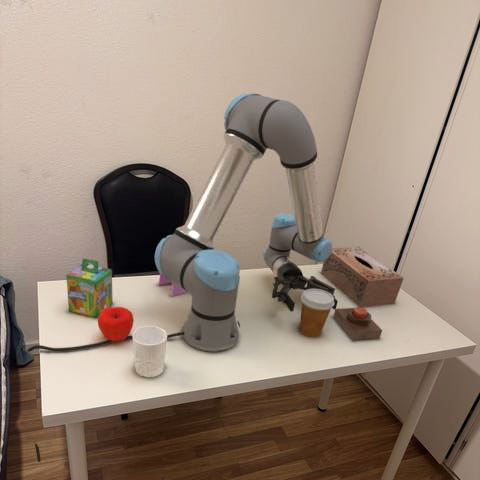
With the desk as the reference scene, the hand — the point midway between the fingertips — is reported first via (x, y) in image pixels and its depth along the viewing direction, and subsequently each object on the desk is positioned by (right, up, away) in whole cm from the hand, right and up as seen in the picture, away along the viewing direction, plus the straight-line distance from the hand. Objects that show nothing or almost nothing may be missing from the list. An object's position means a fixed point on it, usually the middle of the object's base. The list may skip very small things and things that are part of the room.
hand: (314, 306), depth 125 cm
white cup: (-43, -16, -19) cm, 50 cm away
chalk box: (-64, -1, +1) cm, 64 cm away
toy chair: (-43, +6, +16) cm, 47 cm away
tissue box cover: (+21, +8, +33) cm, 39 cm away
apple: (-54, -9, -10) cm, 56 cm away
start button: (+15, -2, +6) cm, 16 cm away
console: (+14, -6, +9) cm, 18 cm away
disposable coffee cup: (-1, -7, +4) cm, 9 cm away
